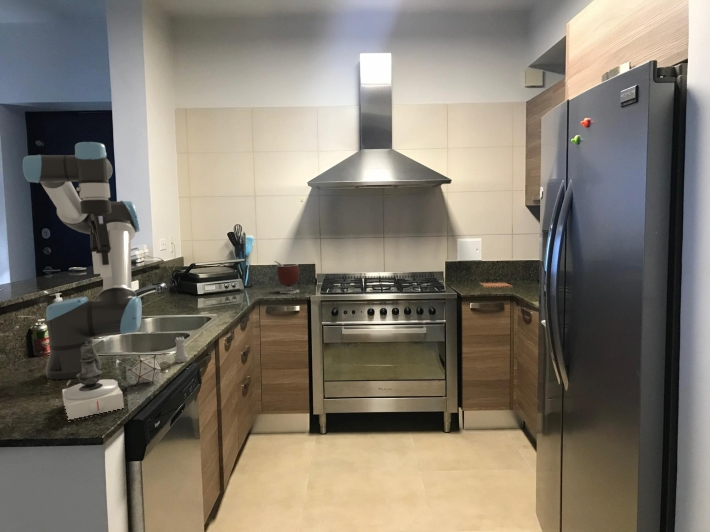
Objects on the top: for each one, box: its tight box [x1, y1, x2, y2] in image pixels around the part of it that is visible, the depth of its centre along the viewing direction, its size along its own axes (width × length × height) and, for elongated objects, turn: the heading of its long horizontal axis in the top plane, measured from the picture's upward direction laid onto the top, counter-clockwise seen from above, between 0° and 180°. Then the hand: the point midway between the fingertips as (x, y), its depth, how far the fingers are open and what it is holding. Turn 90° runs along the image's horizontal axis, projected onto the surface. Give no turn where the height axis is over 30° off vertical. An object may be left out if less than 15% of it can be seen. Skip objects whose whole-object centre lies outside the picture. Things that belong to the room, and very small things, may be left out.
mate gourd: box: [274, 260, 301, 294], centre depth 306 cm, size 16×14×20 cm
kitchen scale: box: [62, 378, 125, 421], centre depth 123 cm, size 14×12×5 cm
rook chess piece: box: [174, 336, 189, 364], centre depth 161 cm, size 4×4×8 cm
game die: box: [126, 354, 165, 386], centre depth 140 cm, size 9×8×10 cm
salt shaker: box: [76, 341, 104, 391], centre depth 123 cm, size 6×6×12 cm
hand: (102, 275), depth 138 cm, fingers open, 13 cm apart
